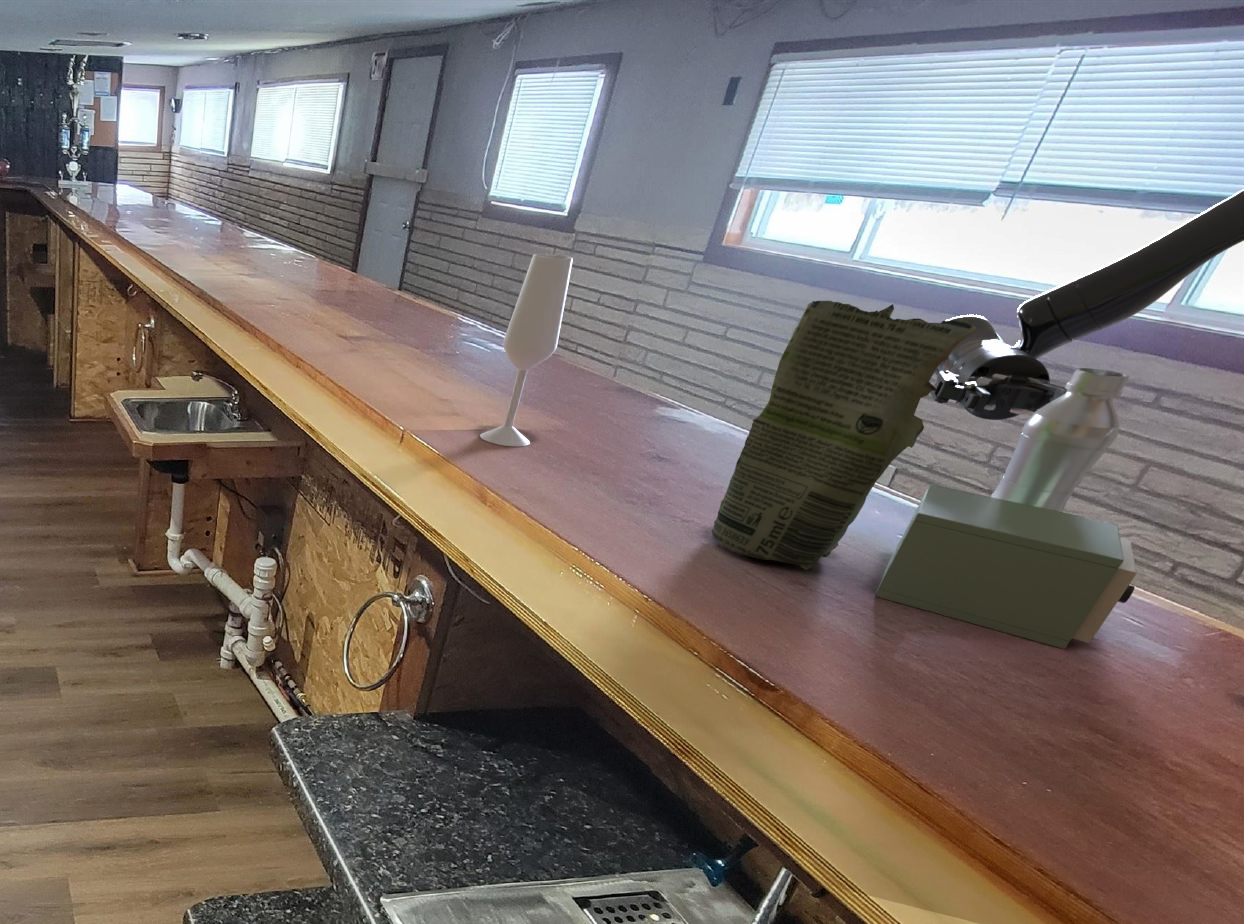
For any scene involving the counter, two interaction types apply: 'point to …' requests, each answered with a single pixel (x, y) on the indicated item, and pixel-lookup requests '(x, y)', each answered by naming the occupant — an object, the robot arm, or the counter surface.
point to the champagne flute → (533, 331)
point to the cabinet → (1002, 564)
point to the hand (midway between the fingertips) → (1032, 411)
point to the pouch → (830, 429)
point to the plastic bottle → (1063, 441)
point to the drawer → (1110, 594)
